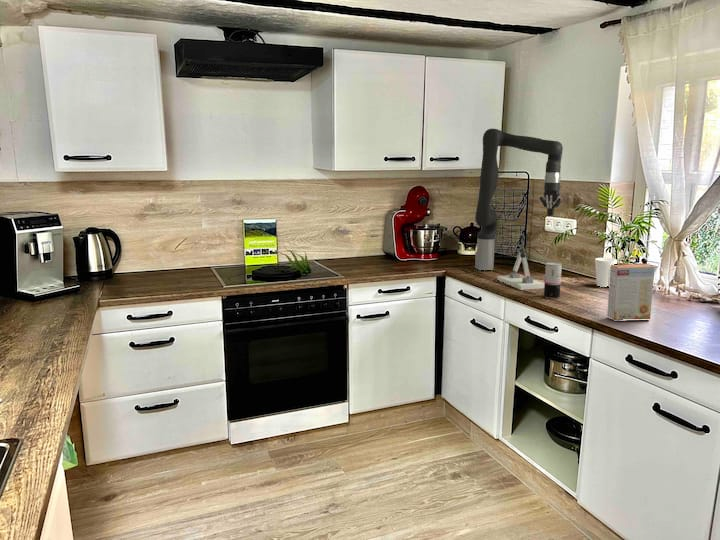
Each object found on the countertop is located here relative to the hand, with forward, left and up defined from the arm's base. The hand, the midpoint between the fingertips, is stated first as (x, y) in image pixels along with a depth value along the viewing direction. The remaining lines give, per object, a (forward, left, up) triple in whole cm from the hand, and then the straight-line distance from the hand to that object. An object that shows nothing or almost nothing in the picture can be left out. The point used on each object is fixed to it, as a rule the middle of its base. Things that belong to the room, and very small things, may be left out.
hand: (550, 215), depth 278 cm
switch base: (+5, -27, -31) cm, 41 cm away
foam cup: (+32, 0, -31) cm, 45 cm away
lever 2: (+11, -29, -26) cm, 41 cm away
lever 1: (-1, -25, -26) cm, 36 cm away
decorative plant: (-89, -104, -31) cm, 141 cm away
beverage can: (+30, -37, -31) cm, 57 cm away
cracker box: (+68, -43, -31) cm, 86 cm away
